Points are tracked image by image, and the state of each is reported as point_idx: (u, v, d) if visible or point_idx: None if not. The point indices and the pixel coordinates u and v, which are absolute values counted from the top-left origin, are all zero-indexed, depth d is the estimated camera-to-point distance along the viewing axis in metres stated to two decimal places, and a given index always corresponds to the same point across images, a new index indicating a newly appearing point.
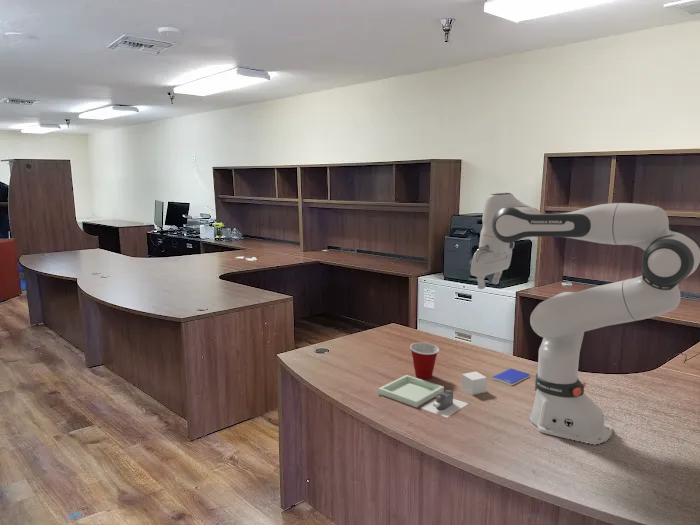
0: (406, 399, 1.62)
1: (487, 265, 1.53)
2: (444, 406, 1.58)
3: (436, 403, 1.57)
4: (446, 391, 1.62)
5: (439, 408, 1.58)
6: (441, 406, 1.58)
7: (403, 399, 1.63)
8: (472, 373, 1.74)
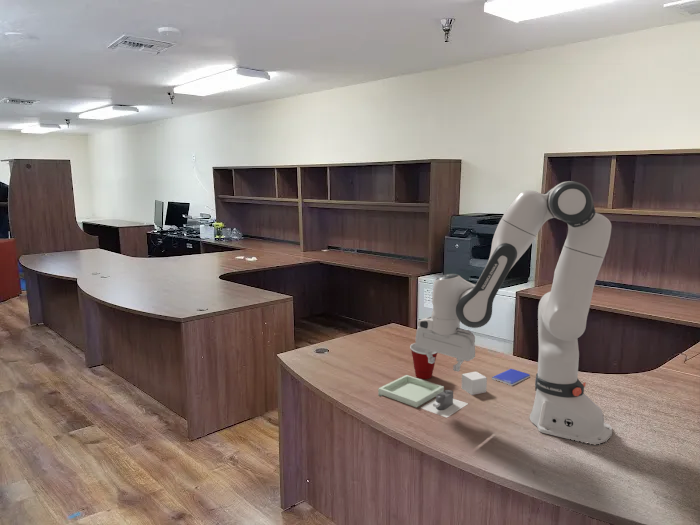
0: (406, 399, 1.62)
1: None
2: (444, 406, 1.58)
3: (436, 403, 1.57)
4: (446, 391, 1.62)
5: (439, 408, 1.58)
6: (441, 406, 1.58)
7: (403, 399, 1.63)
8: (472, 373, 1.74)
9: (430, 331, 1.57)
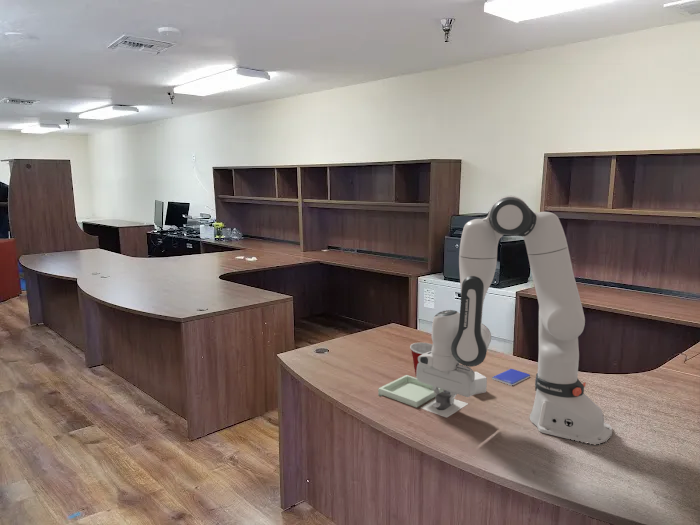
0: (406, 399, 1.62)
1: None
2: (444, 406, 1.58)
3: (436, 403, 1.57)
4: (446, 391, 1.62)
5: (439, 408, 1.58)
6: (441, 406, 1.58)
7: (403, 399, 1.63)
8: None
9: (430, 367, 1.59)
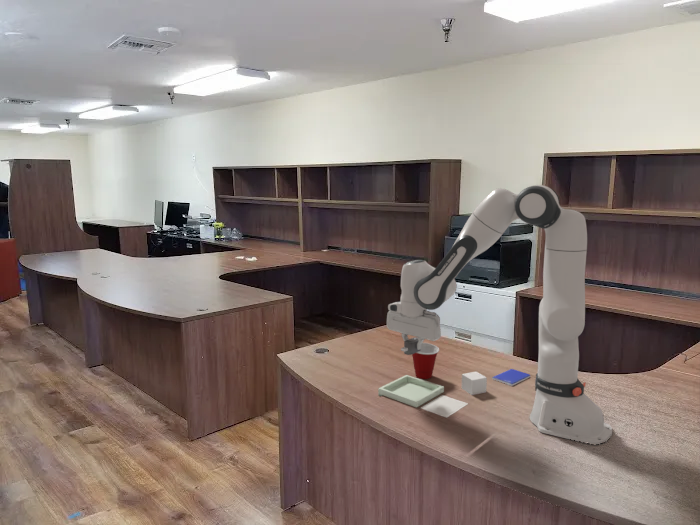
0: (406, 399, 1.62)
1: None
2: (411, 351, 1.66)
3: (404, 348, 1.65)
4: (414, 338, 1.70)
5: (407, 353, 1.66)
6: (409, 351, 1.66)
7: (403, 399, 1.63)
8: (472, 373, 1.73)
9: (399, 314, 1.67)
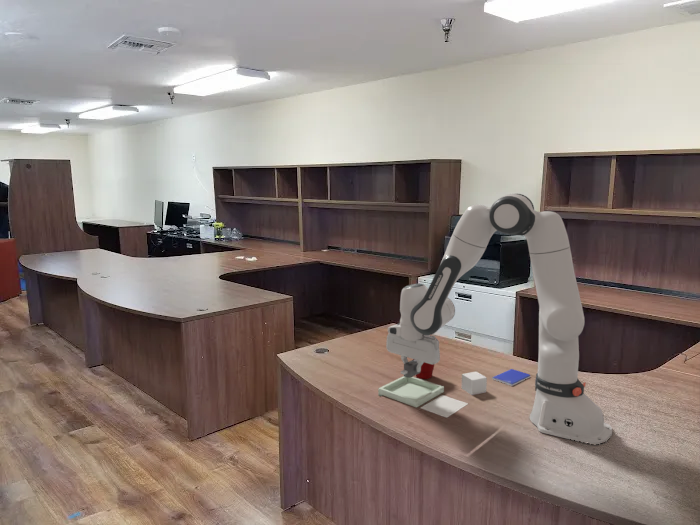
0: (406, 399, 1.62)
1: None
2: (411, 374, 1.68)
3: (403, 371, 1.67)
4: (414, 360, 1.72)
5: (406, 375, 1.68)
6: (408, 374, 1.67)
7: (403, 399, 1.63)
8: (472, 373, 1.73)
9: (399, 337, 1.69)
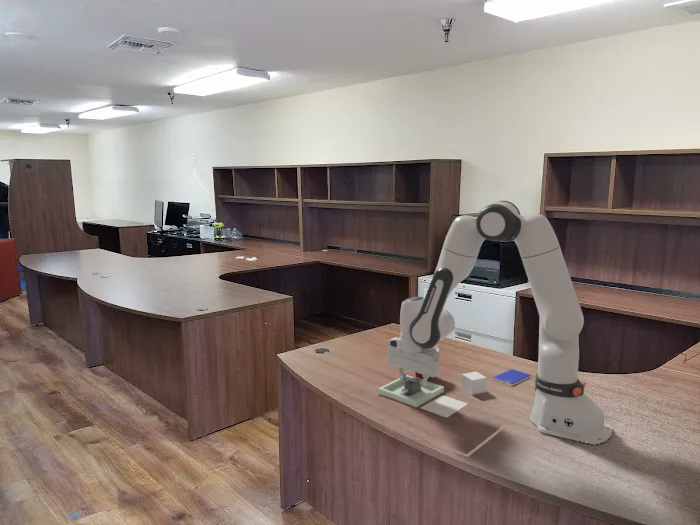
0: (406, 399, 1.62)
1: None
2: (411, 392, 1.69)
3: (404, 389, 1.68)
4: (414, 378, 1.73)
5: (407, 394, 1.69)
6: (409, 392, 1.68)
7: (403, 399, 1.63)
8: (472, 373, 1.73)
9: (399, 350, 1.70)
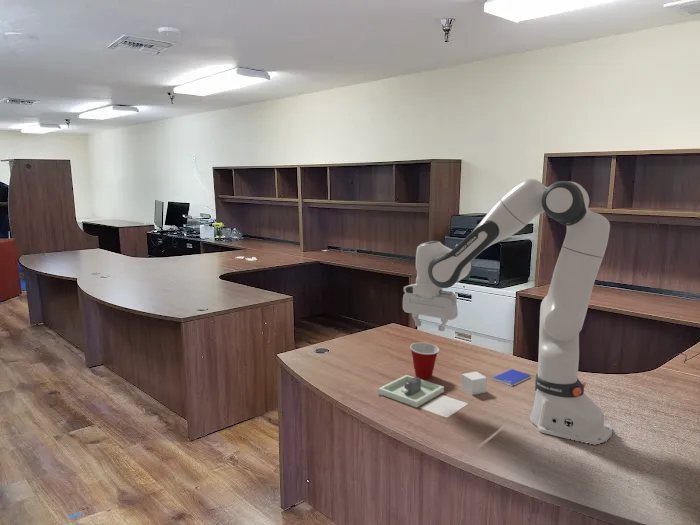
0: (406, 399, 1.62)
1: None
2: (411, 392, 1.69)
3: (404, 389, 1.68)
4: (414, 378, 1.73)
5: (407, 394, 1.69)
6: (409, 392, 1.68)
7: (403, 399, 1.63)
8: (472, 373, 1.73)
9: (415, 295, 1.69)
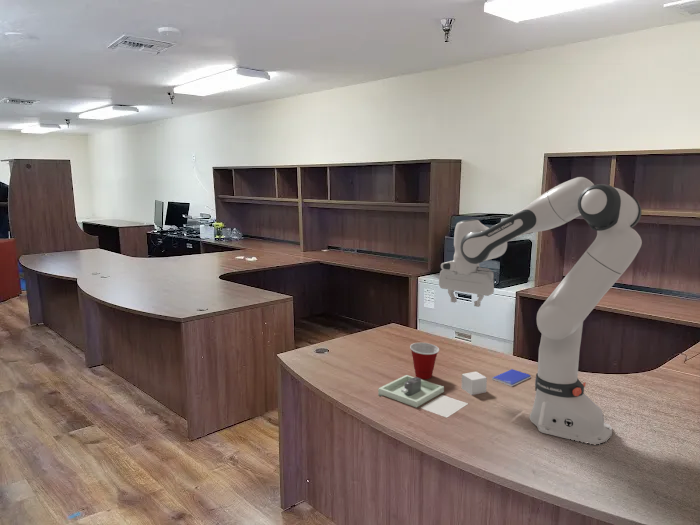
0: (406, 399, 1.62)
1: None
2: (411, 392, 1.69)
3: (404, 389, 1.68)
4: (414, 378, 1.73)
5: (407, 394, 1.69)
6: (409, 392, 1.68)
7: (403, 399, 1.63)
8: (472, 373, 1.73)
9: (452, 272, 1.75)
